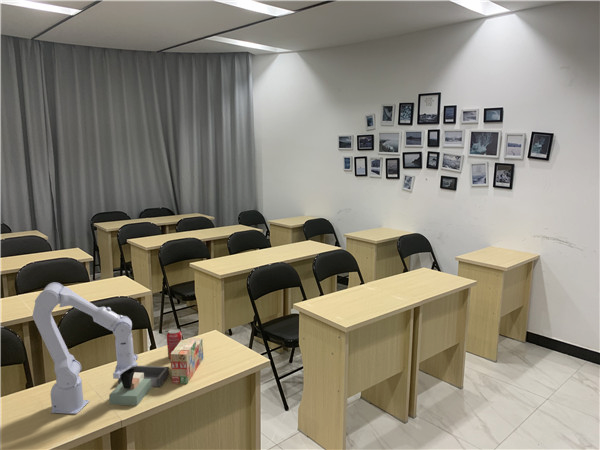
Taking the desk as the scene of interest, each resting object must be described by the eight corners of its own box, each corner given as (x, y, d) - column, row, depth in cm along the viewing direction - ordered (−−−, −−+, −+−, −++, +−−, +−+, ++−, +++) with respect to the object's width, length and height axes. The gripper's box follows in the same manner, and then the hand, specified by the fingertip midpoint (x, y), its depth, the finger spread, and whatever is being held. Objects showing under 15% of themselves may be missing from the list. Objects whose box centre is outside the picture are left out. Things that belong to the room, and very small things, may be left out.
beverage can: (176, 352, 200) (175, 326, 198) (186, 356, 196) (184, 330, 194) (165, 358, 195) (163, 331, 193) (174, 362, 191) (172, 335, 189)
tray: (118, 385, 173) (118, 377, 172) (130, 373, 182) (129, 365, 181) (159, 387, 171) (159, 378, 171) (169, 374, 180) (168, 366, 180)
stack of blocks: (189, 358, 195) (187, 330, 193) (203, 358, 195) (202, 331, 192) (171, 383, 174) (170, 353, 172) (188, 384, 174) (186, 353, 171)
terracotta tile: (123, 388, 164) (123, 383, 164) (128, 382, 168) (128, 377, 167) (134, 388, 163) (134, 383, 163) (139, 383, 167) (138, 378, 167)
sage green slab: (109, 404, 160) (109, 395, 160) (125, 386, 172) (125, 377, 171) (137, 405, 159) (136, 396, 159) (151, 387, 171) (150, 378, 170)
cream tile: (128, 382, 168) (128, 377, 167) (133, 377, 172) (133, 372, 171) (139, 383, 167) (139, 378, 167) (144, 377, 171) (143, 372, 171)
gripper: (126, 361, 153) (129, 399, 155) (144, 343, 167) (147, 377, 169) (105, 361, 153) (109, 398, 156) (126, 342, 168) (128, 377, 170)
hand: (127, 387), depth 163 cm, fingers closed
